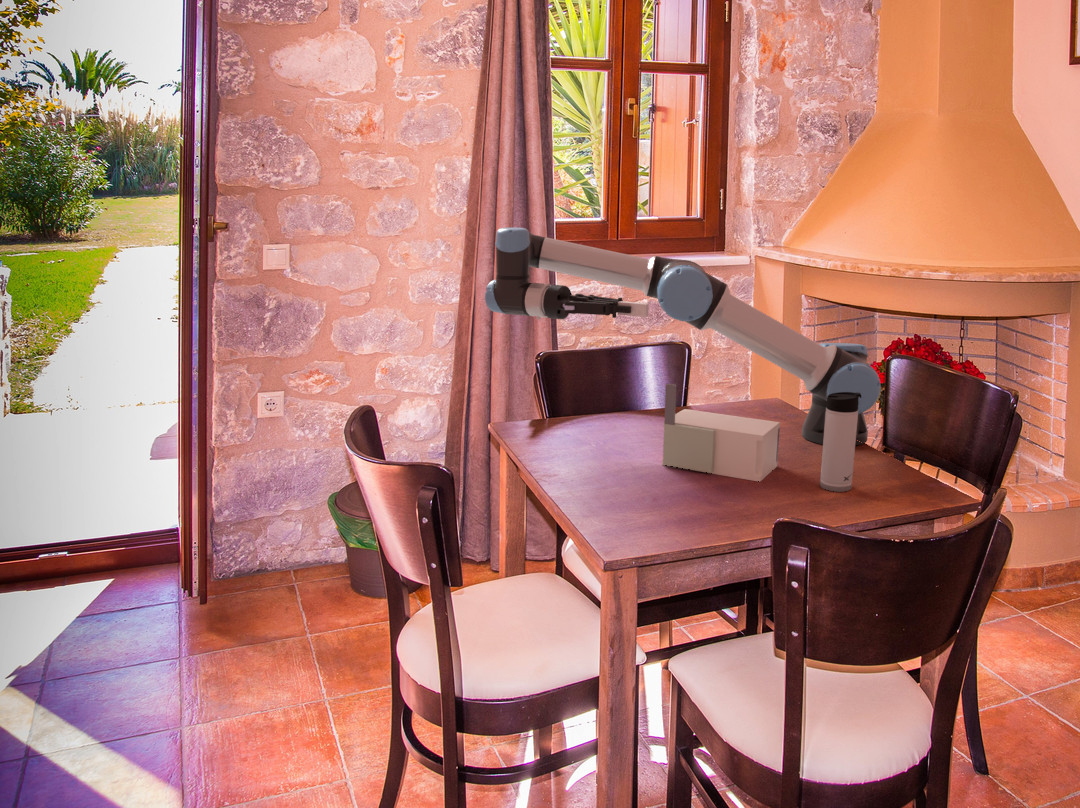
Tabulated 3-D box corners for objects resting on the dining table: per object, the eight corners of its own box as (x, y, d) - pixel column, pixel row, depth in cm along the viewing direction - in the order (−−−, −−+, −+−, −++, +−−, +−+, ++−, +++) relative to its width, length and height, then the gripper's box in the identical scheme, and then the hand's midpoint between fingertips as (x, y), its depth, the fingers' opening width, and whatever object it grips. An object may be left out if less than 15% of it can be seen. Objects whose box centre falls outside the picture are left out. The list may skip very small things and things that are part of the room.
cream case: (662, 465, 218) (663, 421, 216) (682, 451, 229) (684, 408, 226) (760, 481, 208) (762, 435, 205) (777, 466, 218) (780, 422, 216)
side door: (662, 464, 217) (665, 384, 212) (664, 463, 218) (667, 383, 213) (711, 472, 212) (715, 390, 207) (712, 471, 212) (717, 389, 208)
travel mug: (854, 493, 201) (863, 397, 196) (820, 491, 203) (828, 395, 198) (851, 483, 207) (859, 390, 202) (818, 481, 208) (826, 388, 203)
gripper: (563, 313, 229) (658, 323, 218) (535, 322, 218) (633, 332, 207) (564, 281, 227) (659, 289, 216) (535, 288, 216) (634, 296, 205)
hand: (647, 310), depth 211 cm, fingers closed
